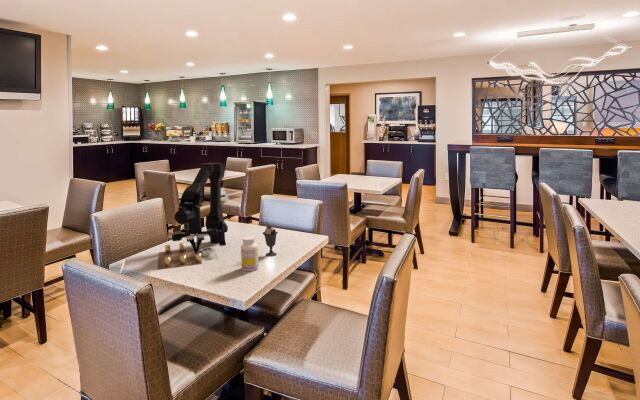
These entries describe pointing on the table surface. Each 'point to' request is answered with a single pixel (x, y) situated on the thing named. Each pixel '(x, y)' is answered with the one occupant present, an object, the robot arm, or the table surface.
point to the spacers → (182, 257)
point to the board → (177, 261)
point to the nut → (206, 252)
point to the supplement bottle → (249, 254)
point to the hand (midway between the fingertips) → (196, 253)
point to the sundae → (270, 239)
